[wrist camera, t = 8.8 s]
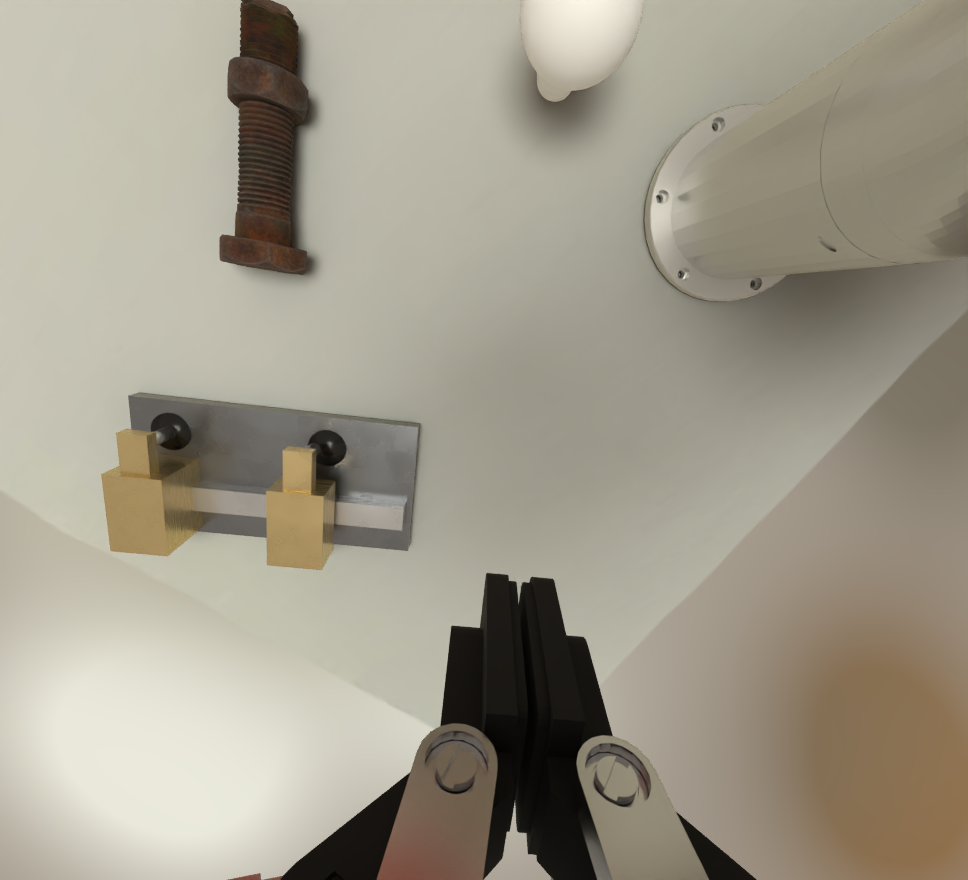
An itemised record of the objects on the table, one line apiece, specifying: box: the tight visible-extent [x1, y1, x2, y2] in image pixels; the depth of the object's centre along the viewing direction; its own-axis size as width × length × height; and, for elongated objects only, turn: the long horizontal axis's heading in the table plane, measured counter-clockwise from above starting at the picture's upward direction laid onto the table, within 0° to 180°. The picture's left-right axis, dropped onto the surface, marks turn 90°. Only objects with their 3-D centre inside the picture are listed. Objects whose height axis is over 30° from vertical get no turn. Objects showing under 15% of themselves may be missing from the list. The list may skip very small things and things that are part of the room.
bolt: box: [220, 0, 308, 275], centre depth 30 cm, size 6×5×15 cm
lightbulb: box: [520, 0, 644, 102], centre depth 26 cm, size 6×6×11 cm
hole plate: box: [101, 393, 420, 556], centre depth 36 cm, size 22×11×6 cm, turn 83°
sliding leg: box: [266, 443, 335, 570], centre depth 35 cm, size 4×9×4 cm, turn 173°
